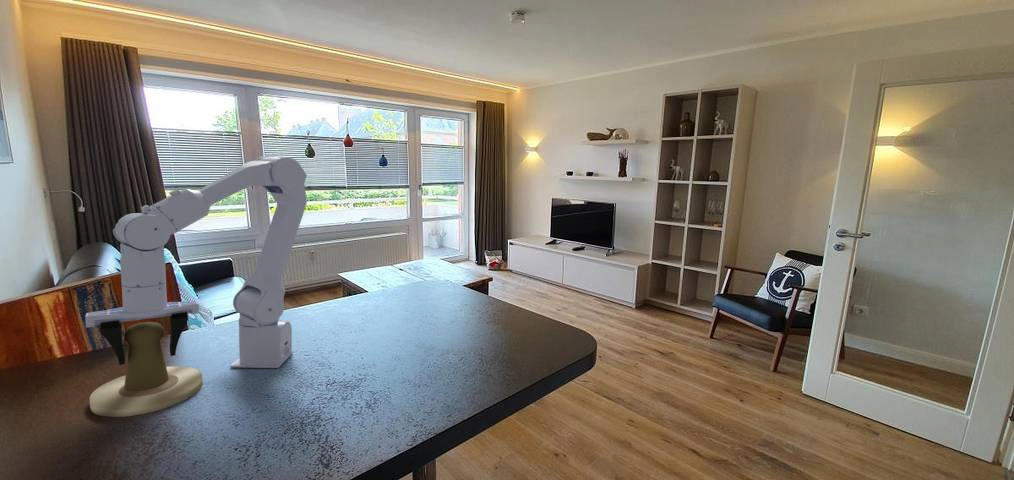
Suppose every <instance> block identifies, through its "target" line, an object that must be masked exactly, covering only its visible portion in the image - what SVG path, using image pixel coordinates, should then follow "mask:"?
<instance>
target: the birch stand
mask: <svg viewBox="0 0 1014 480" xmlns="http://www.w3.org/2000/svg"><path fill="white" fill-rule="evenodd" d="M166 368H167V372H168V377H169V380H168V381H167V382H166V383H164V384H163V385H160V386H158V387H155V388H152V389H148V390H143V391H128V390H125V389H124V385H125V377H126V374H125V375H122V376H120V377H117V378H114V379H112V380H110V381H107V382H106V383H103V384H102V385H99V387H97V388H96V389H95V390H94V391H93V392H92V393H90V395H89V398H88V399H89V409H90V411H91V413H93V414H95V415H96V416H97V415H98V416H101V417H106V418H124V417H125V418H126V417H132V416H133V417H134V416H139V415H144V414H148V413H154V412H156V411H161V410H163V409H167V408H170V407H173V406H175V405H177V404H179V403H182V402H183V401H185V400H188V399H189V398H190V397H191V398H192V397H193V396H194V395H196V393H198V392H199V390H200V389H201V388H202V387H203V373H202V372H201V371H200V370H198V369H197V368H194V367H190V366H178V365H177V366H172V365H171V366H166Z"/></svg>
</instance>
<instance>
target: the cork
mask: <svg viewBox="0 0 1014 480" xmlns="http://www.w3.org/2000/svg"><path fill="white" fill-rule="evenodd" d="M164 333H165V331H164V327H163V325H162V324H161V323H160V322H157V321H156V322H155V321H144V322H138V323H135V324H131V325H130V326H129V327H127V328H126V330H125V331H124V337H123V338H124V340H125V341H124V342H125V343H127V344H128V345H129V346H128V347H129V348H128V354H127V363H126V370H125V375H126V377H125V385H124V389H125V390H128V391H143V390H148V389H152V388H155V387H158V386H160V385H163V384H164V383H166V382H167V381H168V380H169V377H168V372H167V368H166V367H167V364H166V360H165V355H164V352H163V346H162V342H161V339H163V337H164Z"/></svg>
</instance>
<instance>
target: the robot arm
mask: <svg viewBox="0 0 1014 480" xmlns="http://www.w3.org/2000/svg"><path fill="white" fill-rule="evenodd" d="M307 176H308V175H307V173H306V171H305V170H304V169H303V167H302V166H301V164H300V163H299V162H298V161H297V160H296V159H295V158H294V157H293V158H292V157H286V156H284V157H283V156H282V157H274V156H273V157H271V156H267V155H266V156H265V155H264V156H259V157H258V158H256V159H255V160H251V161H247V162H245V163H244V164H242V165H241V166H239V167H237V168H235V169H233V170H231V171H230V172H228V173H226V174H225V175H223V176H221V177H219V178H218V179H216V180H214V181H212V182H210V183H209V184H207V185H205V186H203V187H202V188H200V189H198V190H194V189H193V190H192V189H188V188H184V189H182V190H180V189H173V190H171V191H170V192H169V196H167V197H166V198H163V199H161V200H160V201H158V202H155V203H153V204H152V205H150V206H149V205H147V204H145V205H143V206H141V207H140V210H141V211H142V212H141V213H139V212H136V213H134V212H133V213H128V214H125V215H124V216H122V217H121V218H119V220H118V221H117V223H115V227H114V228H113V229H112V233H113V236H114V237H115V239H116V240H117V241H118V242H120V247H119V248H120V259H119V262H120V263H119V264H120V279H121V293H122V294H121V295H122V307H116V308H112V309H111V308H110V309H106V310H99V311H92V312H86V314H85V316H84V320H85V328H95V327H96V326H99V328H100V329H99V331H100V334H101V336H103V338H105V340H106V341H107V343H109V345H110V347H111V348H112V349H113V351H114V353H115V356H116V358H117V360H118V364H119V366H123V365H126V353H125V346H124V340H123V338H124V337H123V323H124V322H132V321H133V322H134V321H140V320H146V319H147V320H148V319H155V318H156V319H157V318H164V317H169V327H170V329H169V331H170V332H169V334H170V340H169V354H170V357H174V356H176V353H177V347H178V344H179V340H180V338H181V335H182V333H183V331H184V329H185V328H186V326H187V324H188V322H189V314H190V315H196V314H197V315H198V314H199V313H200V309H199V307H200V306H199V301H198V300H193V301H169V302H168V296H167V295H168V294H167V273H166V272H167V271H166V257H165V245H166V244H167V243H168V242H169V240H170V238H171V235H175V234H176V233H178V232H180V231H182V230H184V229H185V228H187V227H190V226H191V225H193V224H195V223H196V222H198V221H200V220H201V219H203V218H205V217H207V216H208V215H209V213H210V209H211V206H212V205H215V204H216V203H219V202H221V201H222V200H225V199H227V198H228V197H231V196H233V195H235V194H238V193H239V192H240V191H243V190H245V189H247V188H250V187H252V186H253V187H255V186H257V187H260V186H261V187H263V188H264V189H265V190H266V191H267V192H269V194H270V195H271V196H272V198H273V200H274V201H275V203H276V208H275V210H274V213H273V215H272V219H271V222H270V224H269V227H268V231H267V233H266V236H265V239H264V242H263V245H262V248H261V251H260V254H259V257H258V259H257V262H256V265H255V269H254V271H253V273H252V274H251V275H250V276H248V277H247V278H246V279H245V280H244V283H243V285H242V287H241V288H240V289H239V290H238V291H237V292H236V294H235V295H234V297H233V299H232V305H233V309H234V310H235V311H236V312H237V313H238V314H239V318H238V338H239V339H238V342H239V345H238V347H239V348H238V349H239V358H237V359H236V360H235V361H233V362H232V363H231V364H230V368H240V369H242V368H246V369H247V368H248V369H249V368H250V369H251V368H257V369H262V368H263V369H278V368H280V367H281V366H282V365H283V364H284V363H285V361H287V360H288V358H289V357H291V355H292V354H293V353H294V351H293V349H292V347H293V344H292V343H293V340H292V339H293V336H292V335H293V334H292V333H293V330H292V324H291V322H290V321H287V320H282V319H280V317H281V316H282V315H283V314H284V310H285V302H284V297H285V294H286V289H285V285H284V284H283V280H282V279H283V276H284V272H285V270H286V266H287V264H288V261H289V257H290V255H291V252H292V249H293V246H294V242H295V240H296V237H297V233H298V231H299V228H300V226H301V225H300V224H301V222H302V219H303V216H304V213H305V209H306V207H307V204H308V203H307V192H306V185H305V182H306V180H307Z"/></svg>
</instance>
